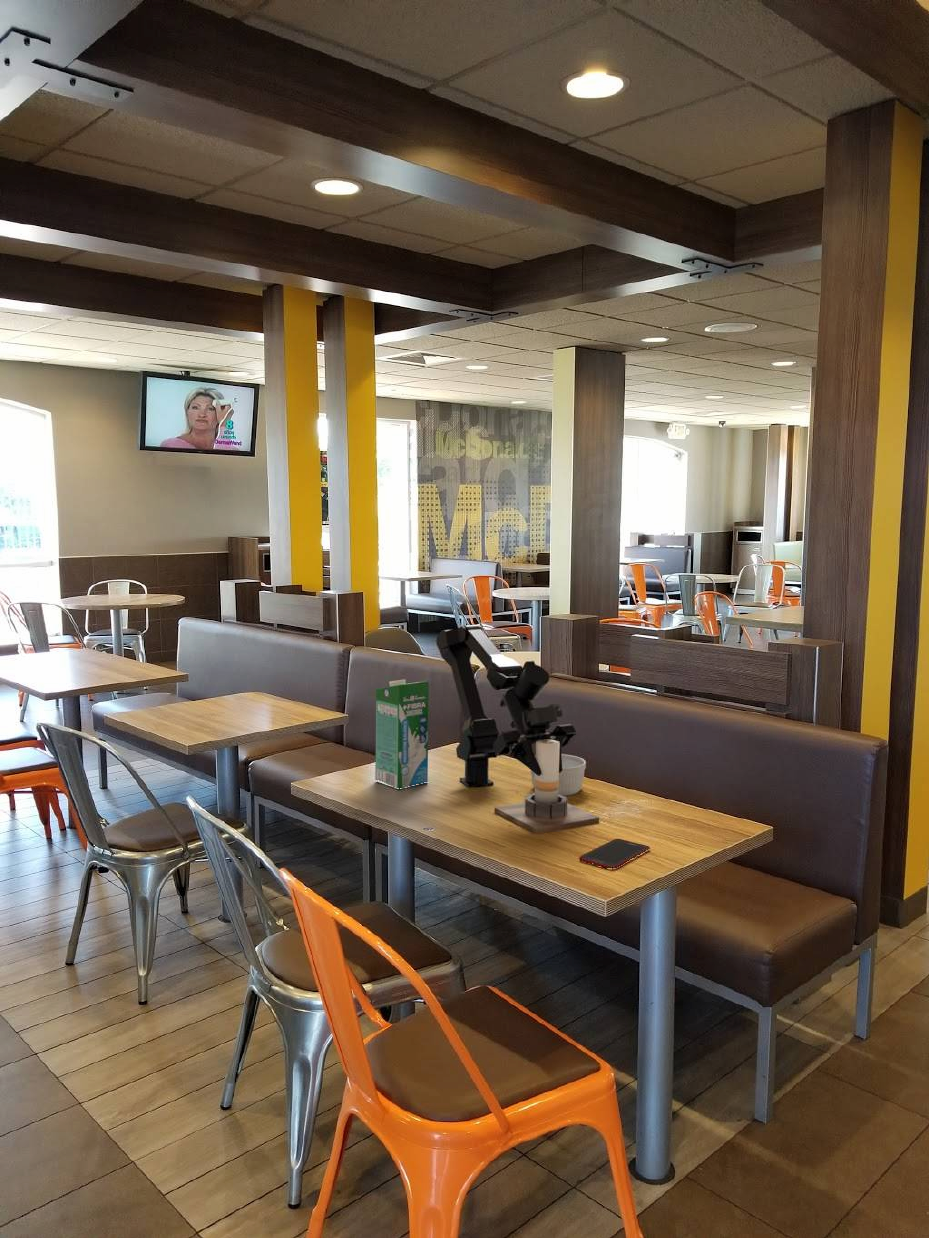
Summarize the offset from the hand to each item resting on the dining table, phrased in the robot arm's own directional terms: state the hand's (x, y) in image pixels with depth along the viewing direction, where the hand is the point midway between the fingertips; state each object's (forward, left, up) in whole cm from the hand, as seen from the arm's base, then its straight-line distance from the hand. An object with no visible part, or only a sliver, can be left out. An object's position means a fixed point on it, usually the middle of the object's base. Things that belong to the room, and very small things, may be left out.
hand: (550, 773), depth 198 cm
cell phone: (+24, +2, -10) cm, 26 cm away
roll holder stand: (-1, 0, -10) cm, 10 cm away
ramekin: (-19, +12, -10) cm, 25 cm away
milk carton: (-36, -21, -10) cm, 43 cm away
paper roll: (-1, 0, -7) cm, 7 cm away
